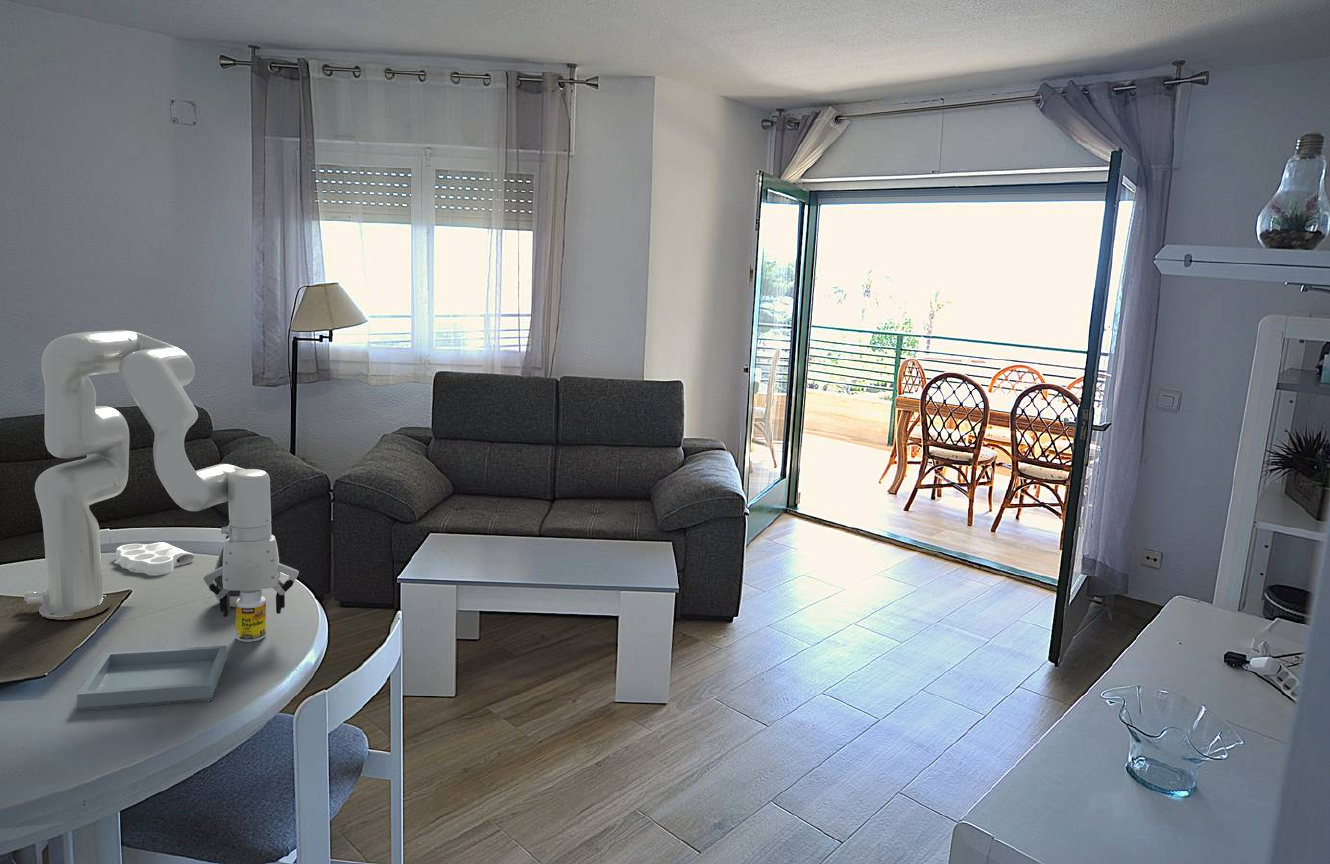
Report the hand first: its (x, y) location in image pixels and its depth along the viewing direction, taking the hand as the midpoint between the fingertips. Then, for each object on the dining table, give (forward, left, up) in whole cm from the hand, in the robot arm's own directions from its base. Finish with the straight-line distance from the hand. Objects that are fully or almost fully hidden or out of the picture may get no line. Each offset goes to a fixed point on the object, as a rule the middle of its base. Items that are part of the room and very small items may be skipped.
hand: (253, 612), depth 174 cm
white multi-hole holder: (-29, +47, -6) cm, 56 cm away
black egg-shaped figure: (-5, +19, -6) cm, 21 cm away
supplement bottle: (0, 0, -6) cm, 6 cm away
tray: (-13, -18, -5) cm, 23 cm away
